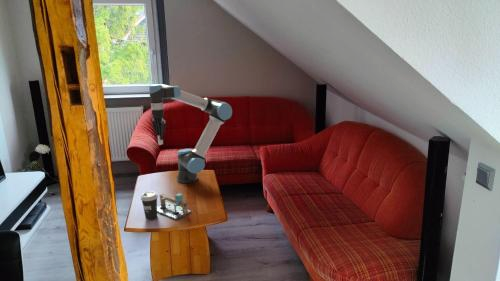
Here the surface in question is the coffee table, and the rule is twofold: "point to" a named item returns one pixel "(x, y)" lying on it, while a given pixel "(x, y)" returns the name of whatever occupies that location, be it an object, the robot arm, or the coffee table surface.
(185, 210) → the wooden rail
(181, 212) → the bolt plate
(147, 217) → the coffee cup
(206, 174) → the coffee table surface
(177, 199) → the slider block
